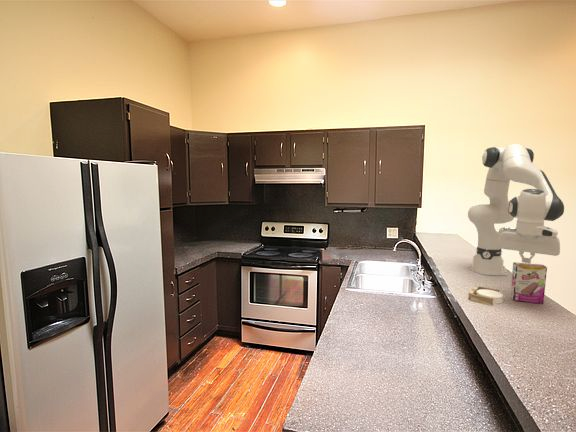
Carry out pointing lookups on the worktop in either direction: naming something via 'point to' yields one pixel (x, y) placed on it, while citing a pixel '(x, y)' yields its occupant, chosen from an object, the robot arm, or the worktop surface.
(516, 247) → the robot arm
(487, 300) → the holder
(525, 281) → the candy bar box
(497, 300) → the coaster
